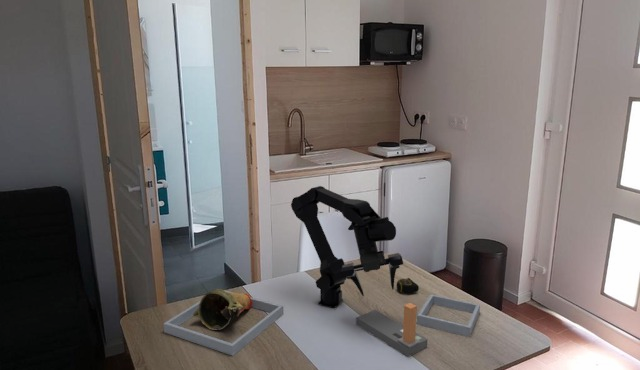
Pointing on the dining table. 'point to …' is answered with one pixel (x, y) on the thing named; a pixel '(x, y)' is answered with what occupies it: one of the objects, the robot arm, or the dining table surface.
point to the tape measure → (407, 286)
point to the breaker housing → (388, 331)
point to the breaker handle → (409, 326)
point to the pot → (221, 307)
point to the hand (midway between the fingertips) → (378, 292)
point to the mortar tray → (217, 344)
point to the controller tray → (448, 325)
